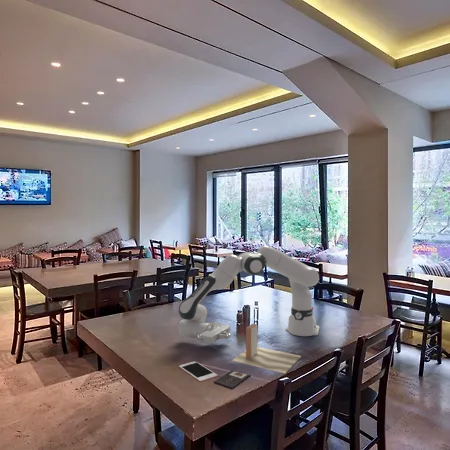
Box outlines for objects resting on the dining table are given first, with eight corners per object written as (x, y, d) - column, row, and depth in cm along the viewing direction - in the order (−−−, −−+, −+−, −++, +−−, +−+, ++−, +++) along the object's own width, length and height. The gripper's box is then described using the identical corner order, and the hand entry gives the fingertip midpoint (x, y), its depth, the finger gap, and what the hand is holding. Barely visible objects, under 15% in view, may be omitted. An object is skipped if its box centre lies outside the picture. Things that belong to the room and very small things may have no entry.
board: (251, 346, 187) (251, 345, 187) (301, 357, 174) (301, 355, 174) (231, 362, 168) (231, 360, 168) (285, 374, 155) (285, 373, 155)
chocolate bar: (213, 381, 147) (238, 366, 162) (213, 384, 147) (238, 368, 162) (232, 387, 142) (255, 371, 157) (232, 390, 142) (255, 373, 157)
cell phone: (200, 382, 148) (200, 380, 148) (178, 367, 163) (178, 365, 163) (217, 377, 153) (217, 375, 153) (195, 362, 168) (195, 360, 168)
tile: (252, 351, 179) (252, 323, 178) (257, 353, 177) (257, 324, 177) (245, 356, 173) (246, 327, 172) (251, 358, 171) (251, 328, 171)
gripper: (194, 331, 179) (218, 336, 172) (216, 320, 196) (238, 324, 190) (194, 344, 179) (218, 349, 172) (216, 332, 197) (238, 336, 190)
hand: (229, 336), depth 181 cm, fingers closed
